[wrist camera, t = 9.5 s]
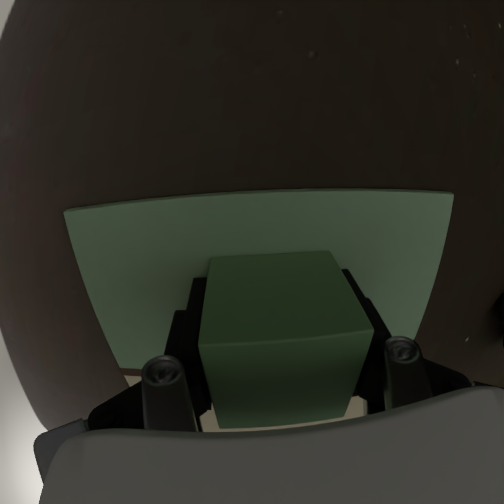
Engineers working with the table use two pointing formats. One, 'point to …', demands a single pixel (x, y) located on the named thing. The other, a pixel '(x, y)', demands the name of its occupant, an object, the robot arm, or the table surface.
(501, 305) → the toy car
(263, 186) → the table surface
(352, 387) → the sage block
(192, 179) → the table surface
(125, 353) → the board
